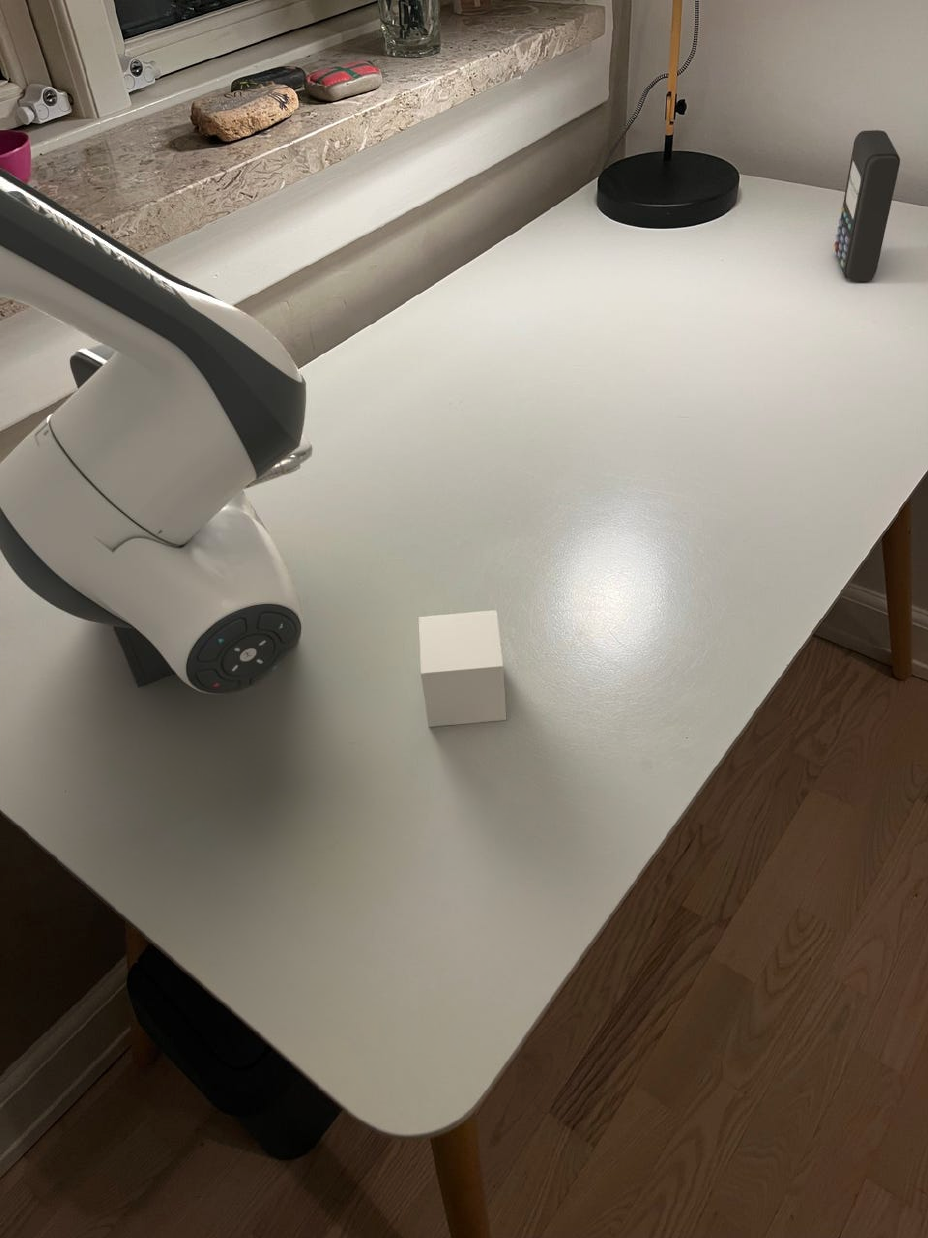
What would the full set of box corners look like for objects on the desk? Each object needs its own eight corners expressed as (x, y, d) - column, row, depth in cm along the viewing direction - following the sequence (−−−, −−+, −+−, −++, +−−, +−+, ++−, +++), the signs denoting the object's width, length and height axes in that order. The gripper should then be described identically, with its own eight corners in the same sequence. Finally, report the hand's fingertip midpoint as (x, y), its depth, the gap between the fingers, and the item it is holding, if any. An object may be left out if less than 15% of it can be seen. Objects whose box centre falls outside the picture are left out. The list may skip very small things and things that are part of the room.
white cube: (425, 670, 83) (418, 616, 79) (500, 664, 83) (496, 609, 79) (428, 727, 79) (420, 673, 74) (506, 720, 79) (503, 665, 74)
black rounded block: (200, 487, 80) (159, 355, 72) (160, 511, 78) (113, 378, 70) (149, 456, 84) (105, 327, 76) (110, 478, 82) (60, 348, 74)
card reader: (830, 251, 132) (852, 127, 121) (862, 250, 131) (887, 126, 121) (841, 284, 125) (866, 156, 115) (876, 283, 125) (903, 155, 114)
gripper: (313, 419, 69) (250, 335, 78) (2, 520, 63) (-26, 416, 72) (329, 495, 73) (267, 407, 82) (39, 596, 67) (8, 488, 77)
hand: (128, 412), depth 77 cm, fingers closed on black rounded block, 5 cm apart
